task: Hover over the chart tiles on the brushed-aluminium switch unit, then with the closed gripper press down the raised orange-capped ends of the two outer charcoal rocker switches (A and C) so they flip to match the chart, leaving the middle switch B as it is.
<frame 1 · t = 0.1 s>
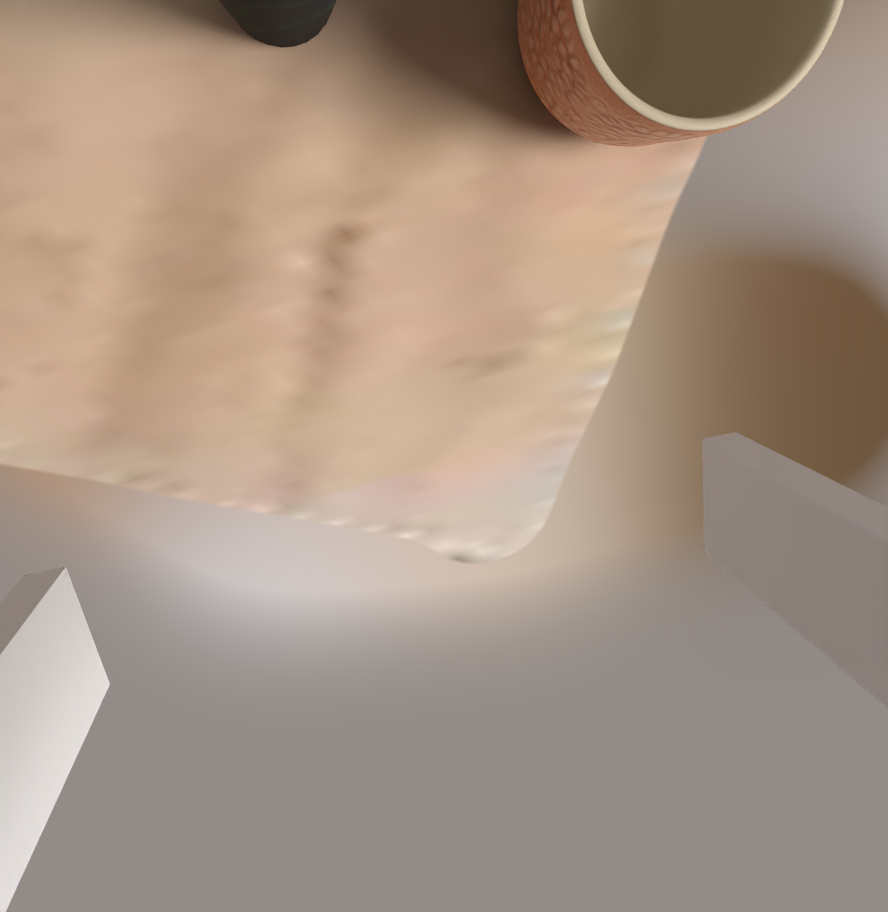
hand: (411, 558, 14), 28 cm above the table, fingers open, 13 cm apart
planter: (605, 35, 38), on the table
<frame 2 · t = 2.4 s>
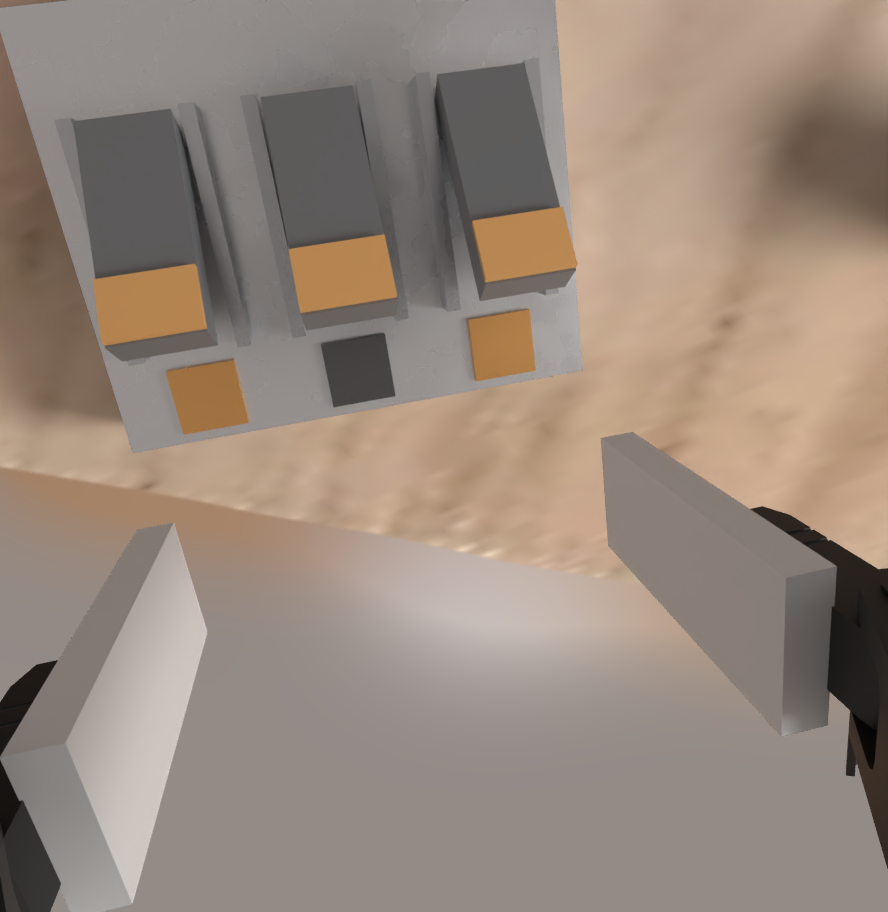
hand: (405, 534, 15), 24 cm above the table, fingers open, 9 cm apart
switch B: (329, 205, 27), point 9 cm above the table, hinge at -28.0°
switch unit: (328, 216, 35), on the table
switch A: (145, 232, 26), point 9 cm above the table, hinge at -28.0°
switch C: (502, 179, 28), point 9 cm above the table, hinge at -28.0°
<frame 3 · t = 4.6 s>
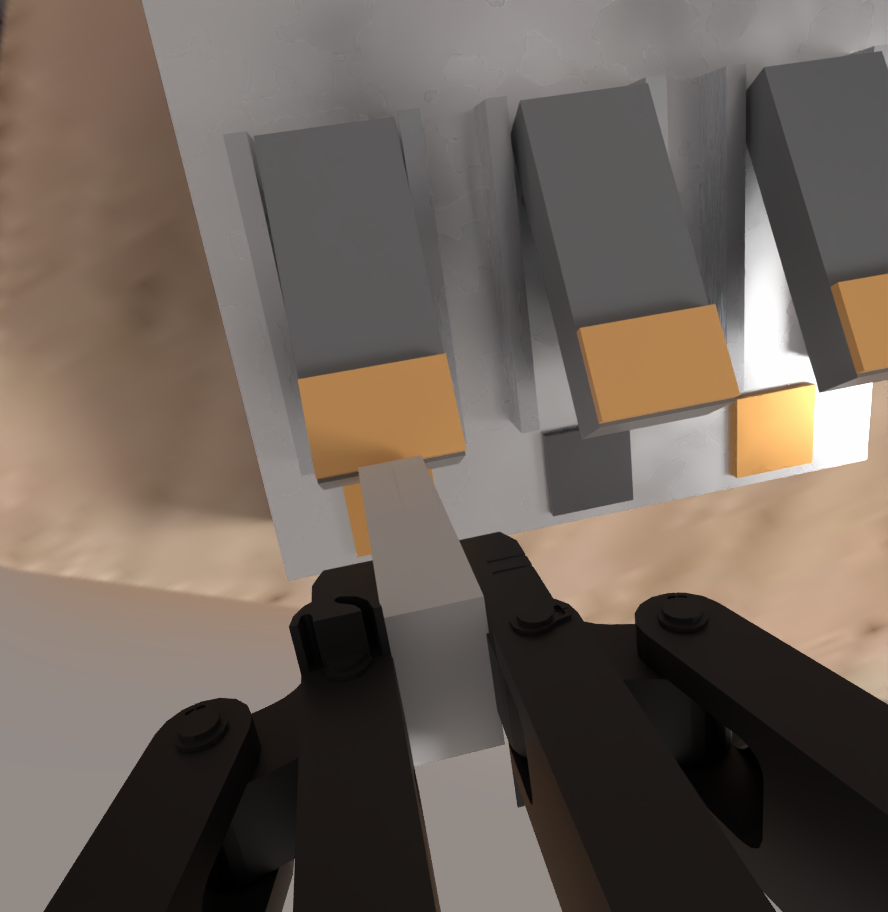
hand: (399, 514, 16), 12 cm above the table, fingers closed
switch B: (616, 258, 18), point 9 cm above the table, hinge at -28.0°
switch unit: (527, 256, 27), on the table
switch A: (358, 301, 18), point 9 cm above the table, hinge at -27.0°, touching gripper
switch C: (854, 219, 19), point 9 cm above the table, hinge at -28.0°
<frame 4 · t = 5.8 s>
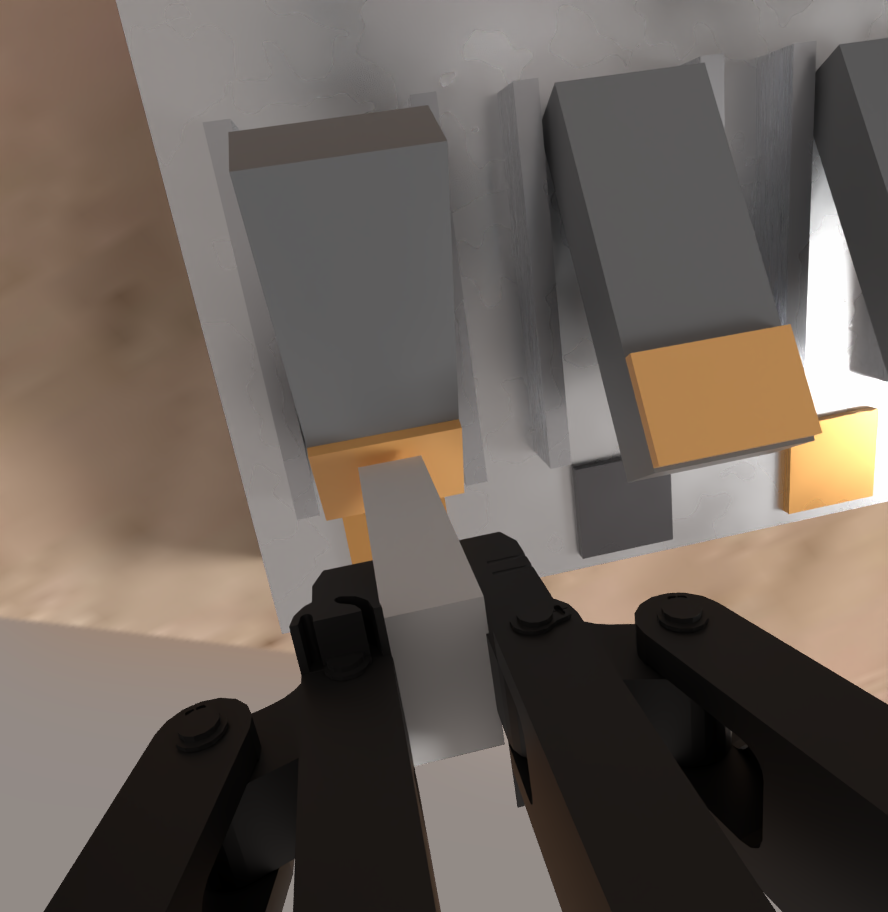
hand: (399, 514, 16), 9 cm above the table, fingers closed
switch B: (669, 269, 16), point 9 cm above the table, hinge at -28.0°
switch unit: (551, 263, 24), on the table
switch A: (369, 348, 15), point 9 cm above the table, hinge at 28.1°
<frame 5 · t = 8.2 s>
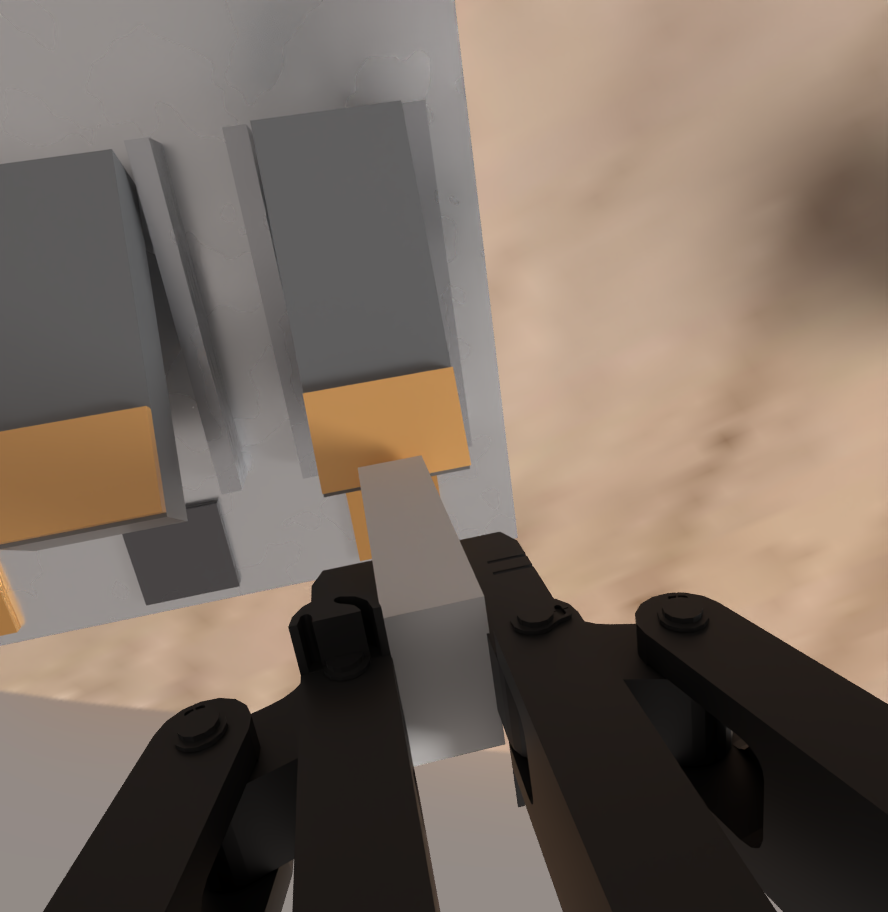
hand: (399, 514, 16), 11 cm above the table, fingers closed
switch B: (70, 347, 16), point 9 cm above the table, hinge at -28.0°
switch unit: (155, 314, 24), on the table
switch C: (362, 304, 17), point 9 cm above the table, hinge at -17.9°
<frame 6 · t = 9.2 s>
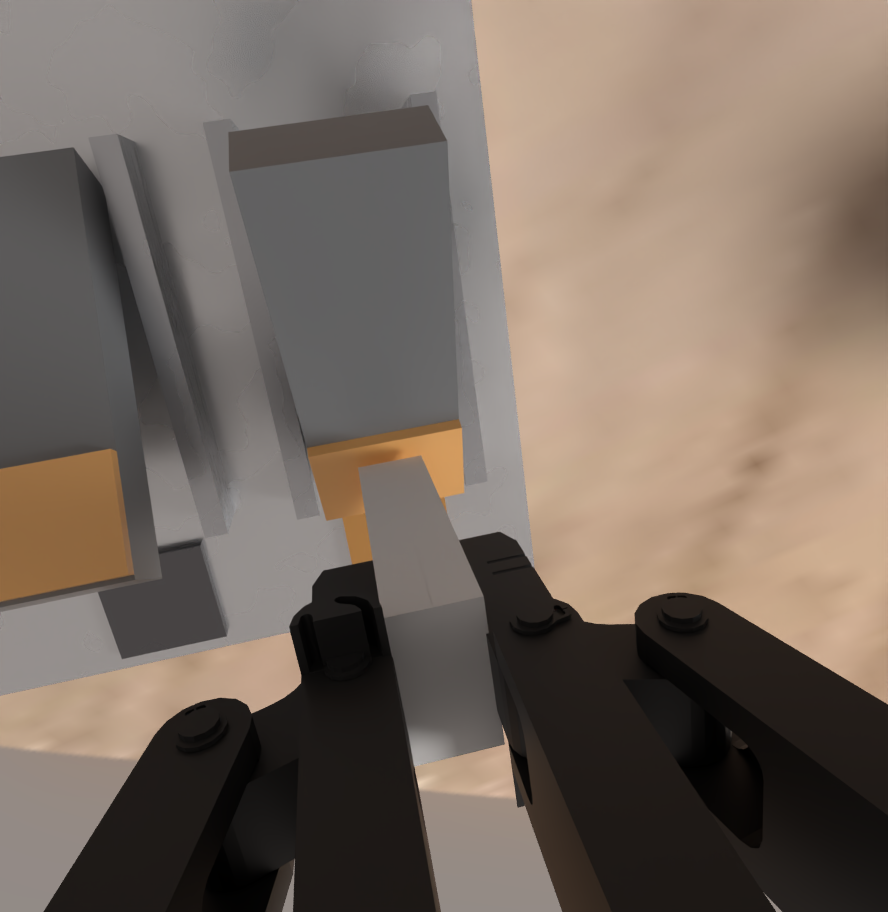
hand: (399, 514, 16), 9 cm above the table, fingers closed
switch B: (24, 378, 14), point 9 cm above the table, hinge at -28.0°
switch unit: (134, 332, 22), on the table
switch C: (369, 348, 15), point 9 cm above the table, hinge at 28.1°
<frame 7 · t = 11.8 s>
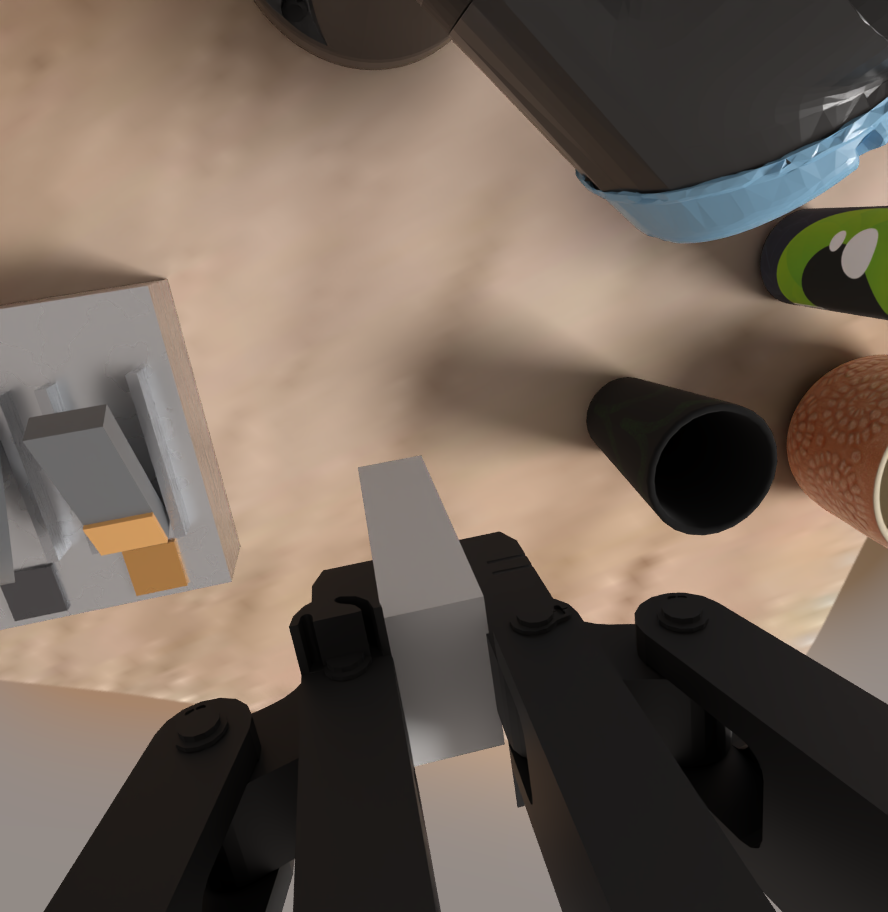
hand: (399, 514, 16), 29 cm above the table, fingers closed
beverage can: (793, 256, 48), on the table
switch unit: (27, 454, 43), on the table
switch C: (104, 485, 36), point 9 cm above the table, hinge at 28.1°
cup: (622, 415, 49), on the table
planter: (836, 423, 52), on the table
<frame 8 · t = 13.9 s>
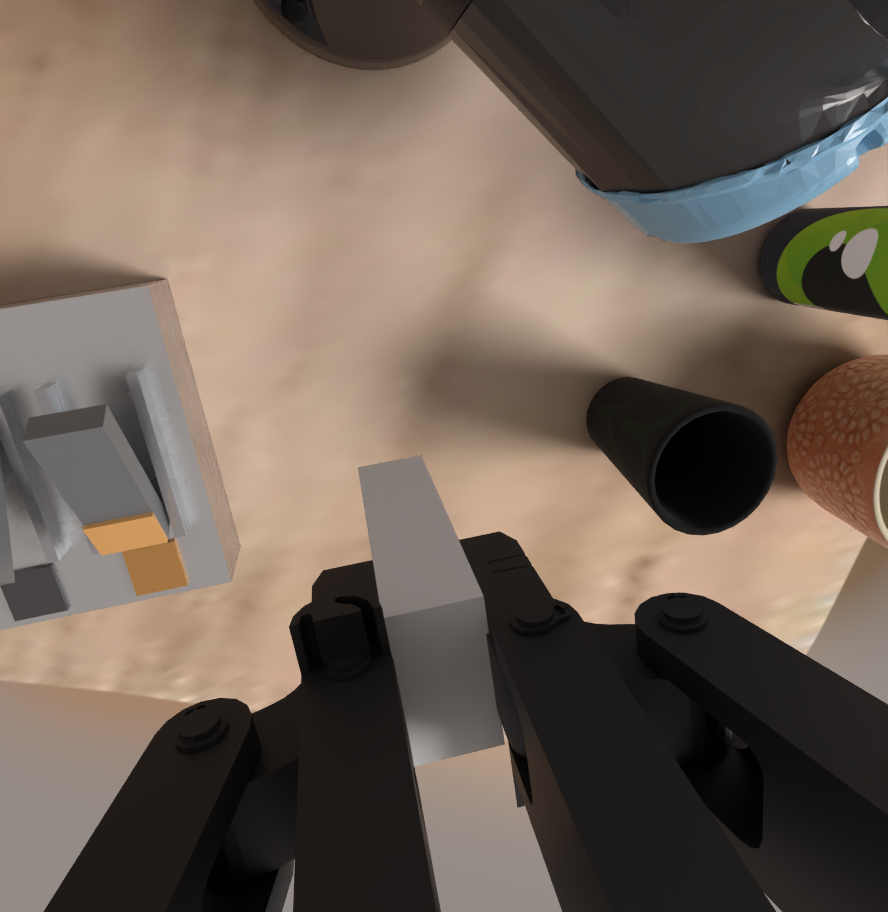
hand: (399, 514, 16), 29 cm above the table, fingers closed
beverage can: (793, 256, 48), on the table
switch unit: (27, 454, 43), on the table
switch C: (104, 485, 36), point 9 cm above the table, hinge at 28.1°
cup: (622, 415, 49), on the table
planter: (836, 423, 52), on the table
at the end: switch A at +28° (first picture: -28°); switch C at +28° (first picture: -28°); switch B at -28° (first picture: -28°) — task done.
